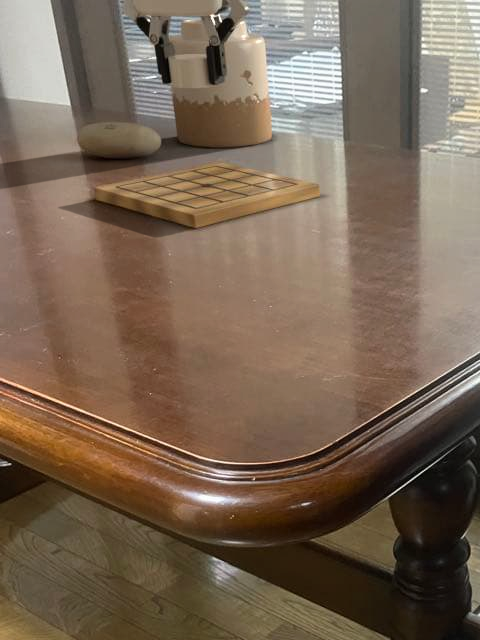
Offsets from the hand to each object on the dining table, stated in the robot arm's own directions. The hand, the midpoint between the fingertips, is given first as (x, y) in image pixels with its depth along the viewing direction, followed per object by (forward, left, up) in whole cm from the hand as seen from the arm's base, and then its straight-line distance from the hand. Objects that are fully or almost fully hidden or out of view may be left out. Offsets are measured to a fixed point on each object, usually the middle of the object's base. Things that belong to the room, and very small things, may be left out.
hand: (193, 81), depth 103 cm
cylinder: (0, 0, 0) cm, 0 cm away
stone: (-29, +7, -14) cm, 33 cm away
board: (0, 0, -13) cm, 13 cm away
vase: (-29, +27, -14) cm, 42 cm away
